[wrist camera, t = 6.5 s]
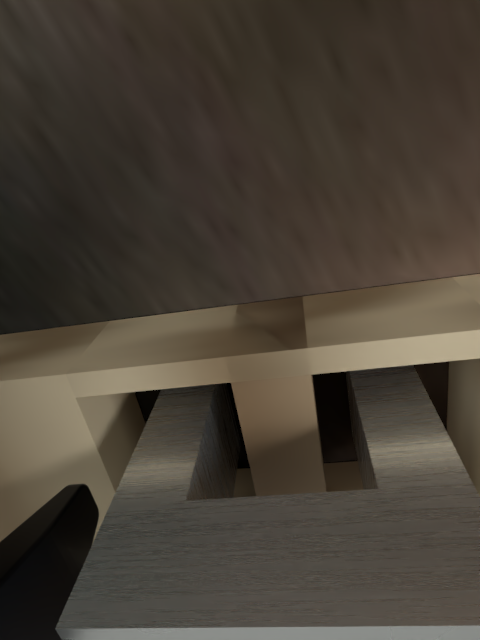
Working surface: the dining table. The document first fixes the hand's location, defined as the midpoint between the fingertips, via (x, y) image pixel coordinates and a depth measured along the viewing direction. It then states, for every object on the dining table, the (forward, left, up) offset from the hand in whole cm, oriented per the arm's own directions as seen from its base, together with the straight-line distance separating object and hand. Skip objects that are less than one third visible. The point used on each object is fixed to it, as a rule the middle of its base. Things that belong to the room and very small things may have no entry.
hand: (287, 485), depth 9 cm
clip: (0, 0, -3) cm, 3 cm away
